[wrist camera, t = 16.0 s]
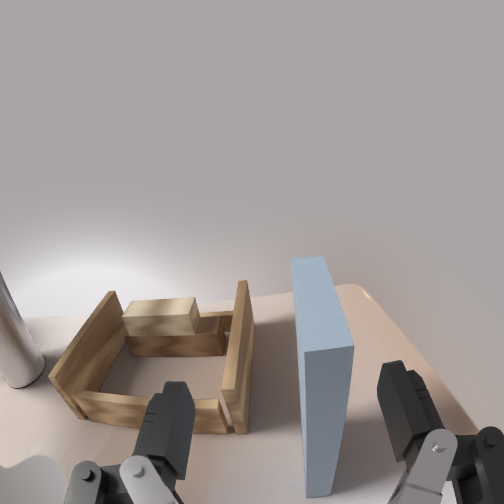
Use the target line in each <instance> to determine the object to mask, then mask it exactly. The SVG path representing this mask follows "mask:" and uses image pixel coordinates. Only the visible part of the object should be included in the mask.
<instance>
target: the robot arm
mask: <svg viewBox="0 0 504 504" xmlns="http://www.w3.org/2000/svg"><path fill="white" fill-rule="evenodd" d="M44 366H45V359H44V357H43V356H42V354H41V352H40V351H39V349H38V347H37V345H36V344H35V342H34V340H33V338H32V336H31V335H30V333H29V331H28V329H27V327H26V325H25V323H24V321H23V319H22V318H21V316H20V314H19V312H18V310H17V308H16V305H15V303H14V301H13V299H12V297H11V295H10V293H9V291H8V288H7V286H6V284H5V281H4V279H3V277H2V274H1V272H0V374H1V375H2V377H3V378H4V379H5V381H6V382H7V384H8V385H9V386H11V387H13V388H20V387H24V386H27V385H28V384H30V383H32V382H33V381H34V380H36V379H37V378H38V377H39V375H40V374H41V373H42V371H43V369H44ZM377 396H378V400H379V404H380V407H381V410H382V413H383V416H384V420H385V423H386V426H387V430H388V433H389V436H390V440H391V443H392V447H393V450H394V454H395V458H396V461H397V462H401V461H404V460H405V462H406V466H407V467H406V469H405V471H404V473H403V475H402V477H401V479H400V481H399V483H398V485H397V487H396V489H395V490H394V492H393V494H392V496H391V498H390V500H389V501H388V503H387V504H440V502H441V500H442V494H441V491H442V488H443V485H444V483H445V481H451V480H452V484H453V488H454V492H455V497H456V501H457V504H504V435H503V433H502V432H501V430H499V429H498V428H496V427H486V428H483V429H482V430H481V431H480V432H479V433H478V434H477V435H462V436H460V435H454V434H453V433H452V432H451V431H449V430H446V429H445V427H444V426H443V424H442V422H441V419H440V417H439V415H438V412H437V410H436V408H435V405H434V403H433V401H432V399H431V397H430V394H429V392H428V390H427V389H426V385H425V383H424V381H423V379H422V377H421V376H420V375H419V374H417V373H416V372H415V371H414V370H410V371H406V368H405V366H404V364H403V362H402V361H401V360H398V361H393V362H388V363H384V364H383V365H382V369H381V373H380V377H379V381H378V385H377ZM195 413H196V410H195V404H194V401H193V399H192V396H191V394H190V392H189V389H188V387H187V385H186V383H185V382H175V381H167V382H166V383H165V386H164V389H163V393H162V394H161V393H156V394H155V395H154V396H153V397H152V398H151V400H150V401H149V402H148V405H147V408H146V412H145V415H144V418H143V423H142V425H141V428H140V432H139V435H138V439H137V442H136V446H135V449H134V452H133V454H132V456H131V457H129V458H127V459H126V460H124V461H123V463H122V464H119V465H113V466H104V467H99V466H98V465H97V464H95V463H94V462H91V461H83V462H81V463H79V464H77V465H76V466H75V468H74V469H73V472H72V475H71V479H70V482H69V486H68V489H67V493H66V497H65V501H64V504H186V503H185V502H184V500H183V499H182V497H181V496H180V494H179V493H178V491H177V490H176V488H175V483H176V479H178V480H185V475H186V468H187V462H188V456H189V450H190V444H191V438H192V432H193V426H194V420H195Z"/></svg>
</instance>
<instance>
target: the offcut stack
mask: <svg viewBox="0 0 504 504" xmlns="http://www.w3.org/2000/svg"><path fill="white" fill-rule="evenodd" d="M122 319H123V321H124V324H125V326H126V328H127V332H126V334H125V336H124V337H125V339H126V342H127V344H128V346H129V348H130V350H131V352H132V354H133V356H141V357H197V356H223V350H224V345H225V339H226V336H225V332H224V328H223V324H222V320H221V316H214V317H200V314H199V311H198V307H197V303H196V300H195V297H188V298H174V299H160V300H159V299H158V300H141V301H131V303H130V304H129V306H128V307H127V309H126V310H125V312H124V314H123V315H122Z"/></svg>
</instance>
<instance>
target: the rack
mask: <svg viewBox="0 0 504 504" xmlns="http://www.w3.org/2000/svg"><path fill="white" fill-rule="evenodd" d="M123 314H124V313H123V311H122V308H121V305H120V303H119V301H118V298H117V295H116V292H115V291H109V292H108V293H107V294H106V296H105V297H104V298H103V299H102V301H101V302H100V303H99V305H98V306H97V307H96V309H95V310H94V312H93V313H92V314H91V315H90V317H89V318H88V319H87V321H86V322H85V324H84V325H83V326H82V328H81V329H80V330H79V332H78V333H77V335H76V336H75V337H74V339H73V340H72V342H71V343H70V345H69V346H68V347H67V349H66V350H65V352H64V353H63V355H62V356H61V358H60V359H59V360H58V362H57V363H56V365H55V366H54V368H53V369H52V371H51V372H50V374H49V376H48V378H49V379H50V380H51V382H52V383H53V385H54V386H55V388H56V389H57V391H58V392H59V393H60V395H61V396H62V398H63V399H64V400H65V402H66V403H67V404H68V406H69V407H70V408H71V410H72V411H73V412H74V413H75V415H76V416H77V417H78V418H80V419H84V420H85V419H86V417H87V416H88V418H89V419H90V420H91V421H94V422H100V423H105V424H111V425H118V426H124V427H131V428H139V429H140V428H141V425H142V423H143V418H144V415H145V412H146V408H147V405H148V402H149V401H150V400H151V397H138V396H127V395H117V394H108V393H100V392H99V390H100V388H101V386H102V384H103V382H104V380H105V378H106V376H107V374H108V372H109V370H110V368H111V367H112V365H113V363H114V361H115V359H116V357H117V355H118V353H119V351H120V350H121V348H122V346H123V344H124V342H125V340H126V339H125V337H124V336H125V334H126V332H127V328H126V326H125V324H124V321H123V319H122V315H123ZM199 314H200V317H214V316H221V320H222V324H223V328H224V331H230V337H229V343H228V349H227V356H226V362H225V368H224V375H223V381H222V387H221V391H222V394H223V397H224V400H225V403H226V406H227V409H228V412H229V414H230V417H231V420H232V423H233V426H234V429H235V432H236V434H247V432H248V417H249V403H250V388H251V372H252V357H253V341H254V326H255V325H254V319H253V313H252V307H251V301H250V296H249V289H248V283H247V281H246V280H245V281H239V282H238V288H237V295H236V300H235V306H234V311H224V312H210V313H199ZM193 401H194V404H195V410H196V413H195V420H194V426H193V432H192V433H202V434H227V432H228V423H227V421H226V418H225V415H224V413H223V410H222V407H221V404H220V401H219V399H193Z"/></svg>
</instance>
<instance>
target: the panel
mask: <svg viewBox="0 0 504 504" xmlns="http://www.w3.org/2000/svg"><path fill="white" fill-rule="evenodd" d="M291 270H292V282H293V294H294V307H295V321H296V335H297V351H298V367H299V386H300V407H301V429H302V442H303V456H304V472H305V489H306V498H312V497H321V496H329V495H330V493H331V489H332V485H333V480H334V476H335V471H336V466H337V462H338V457H339V451H340V446H341V441H342V435H343V429H344V423H345V417H346V410H347V404H348V396H349V389H350V381H351V373H352V364H353V354H354V343H353V340H352V337H351V334H350V331H349V328H348V325H347V322H346V319H345V316H344V313H343V310H342V307H341V304H340V301H339V299H338V296H337V293H336V290H335V287H334V284H333V282H332V279H331V276H330V274H329V271H328V268H327V265H326V263H325V260H324V258H323V256H314V257H305V258H295V259H291Z"/></svg>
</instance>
